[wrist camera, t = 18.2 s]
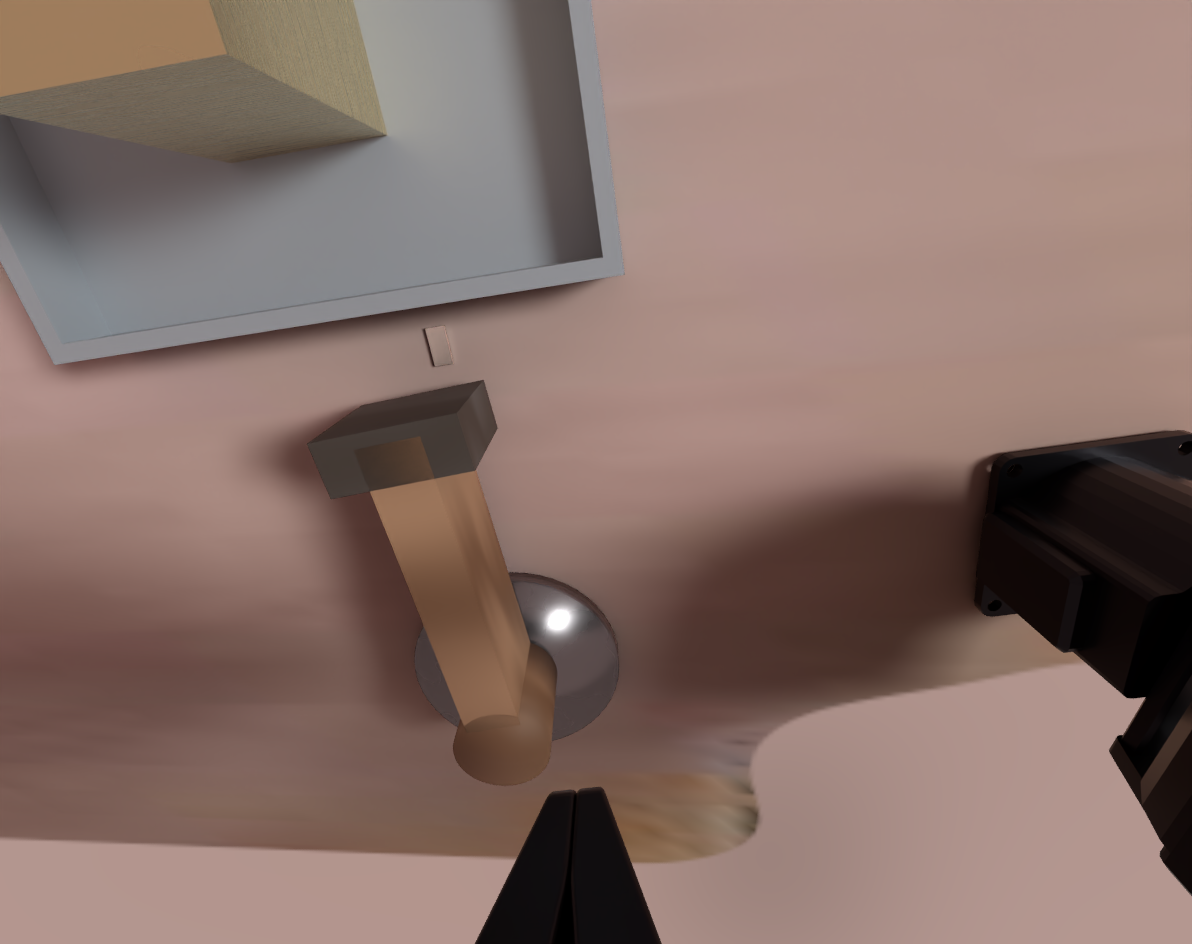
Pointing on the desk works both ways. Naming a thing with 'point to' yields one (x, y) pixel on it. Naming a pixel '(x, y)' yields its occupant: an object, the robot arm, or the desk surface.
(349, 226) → the stop tray
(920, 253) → the desk surface
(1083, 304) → the desk surface
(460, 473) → the crank lever
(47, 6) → the stop block
